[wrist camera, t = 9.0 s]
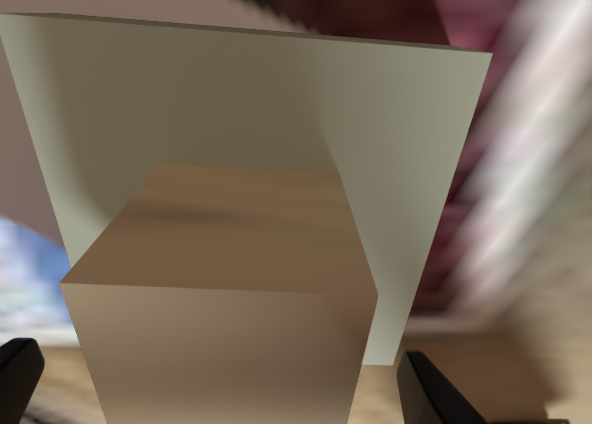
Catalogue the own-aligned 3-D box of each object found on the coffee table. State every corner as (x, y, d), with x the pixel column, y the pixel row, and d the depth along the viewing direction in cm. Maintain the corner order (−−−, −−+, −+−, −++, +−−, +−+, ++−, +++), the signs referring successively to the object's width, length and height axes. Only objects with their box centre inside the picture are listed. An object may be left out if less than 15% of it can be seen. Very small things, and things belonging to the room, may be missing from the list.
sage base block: (378, 318, 20) (392, 365, 17) (124, 309, 19) (98, 356, 16) (451, 45, 13) (492, 53, 10) (56, 13, 12) (-7, 13, 9)
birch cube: (320, 302, 15) (338, 457, 10) (178, 297, 15) (117, 454, 9) (339, 172, 12) (379, 295, 7) (161, 162, 12) (59, 282, 6)
